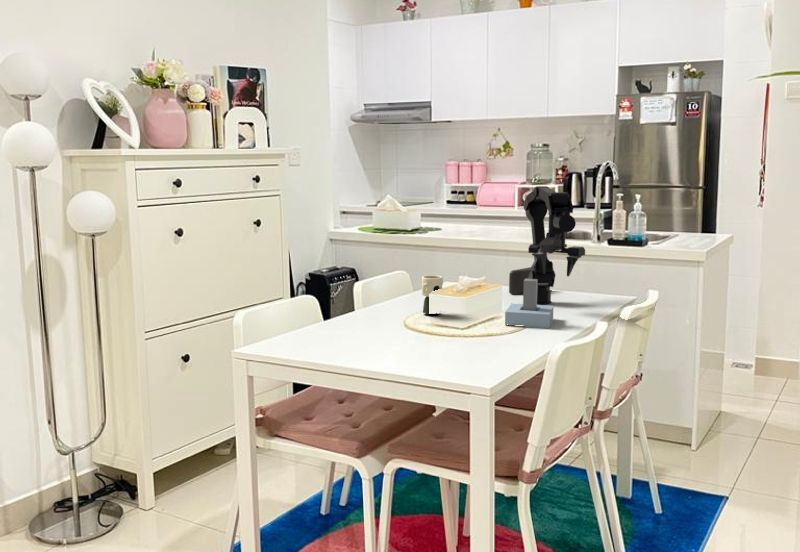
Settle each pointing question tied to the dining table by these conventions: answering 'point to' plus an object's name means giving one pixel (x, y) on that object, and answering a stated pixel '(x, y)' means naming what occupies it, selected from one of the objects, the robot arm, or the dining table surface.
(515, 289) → the leaning round-cornered charcoal block
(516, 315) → the socket block
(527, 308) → the gray block
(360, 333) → the dining table surface
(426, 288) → the character mug
